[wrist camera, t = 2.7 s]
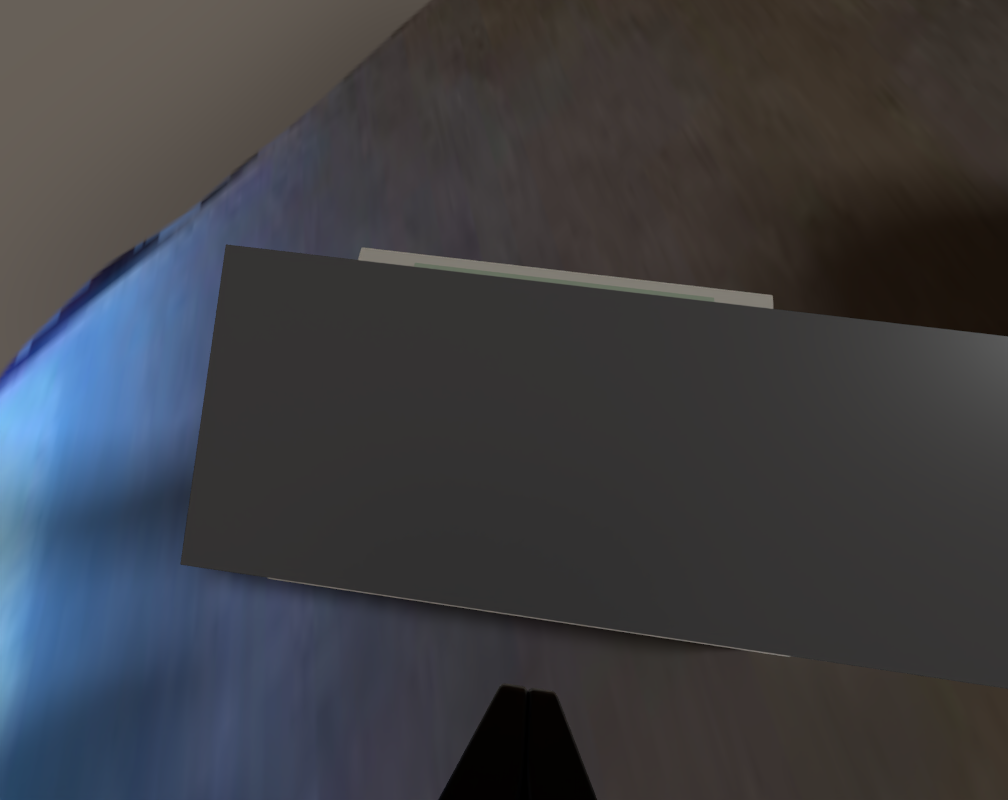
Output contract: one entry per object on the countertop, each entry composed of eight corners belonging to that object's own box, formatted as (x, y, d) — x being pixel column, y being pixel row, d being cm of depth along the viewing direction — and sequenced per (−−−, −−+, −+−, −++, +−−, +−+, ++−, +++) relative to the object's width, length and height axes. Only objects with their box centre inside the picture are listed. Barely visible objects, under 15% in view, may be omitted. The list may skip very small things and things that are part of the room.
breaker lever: (661, 477, 16) (1141, 708, 3) (422, 445, 16) (67, 548, 4) (670, 402, 16) (1178, 356, 3) (432, 371, 16) (115, 231, 4)
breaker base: (749, 650, 16) (853, 666, 11) (300, 583, 17) (218, 571, 12) (741, 331, 20) (816, 244, 15) (377, 287, 21) (339, 190, 16)
